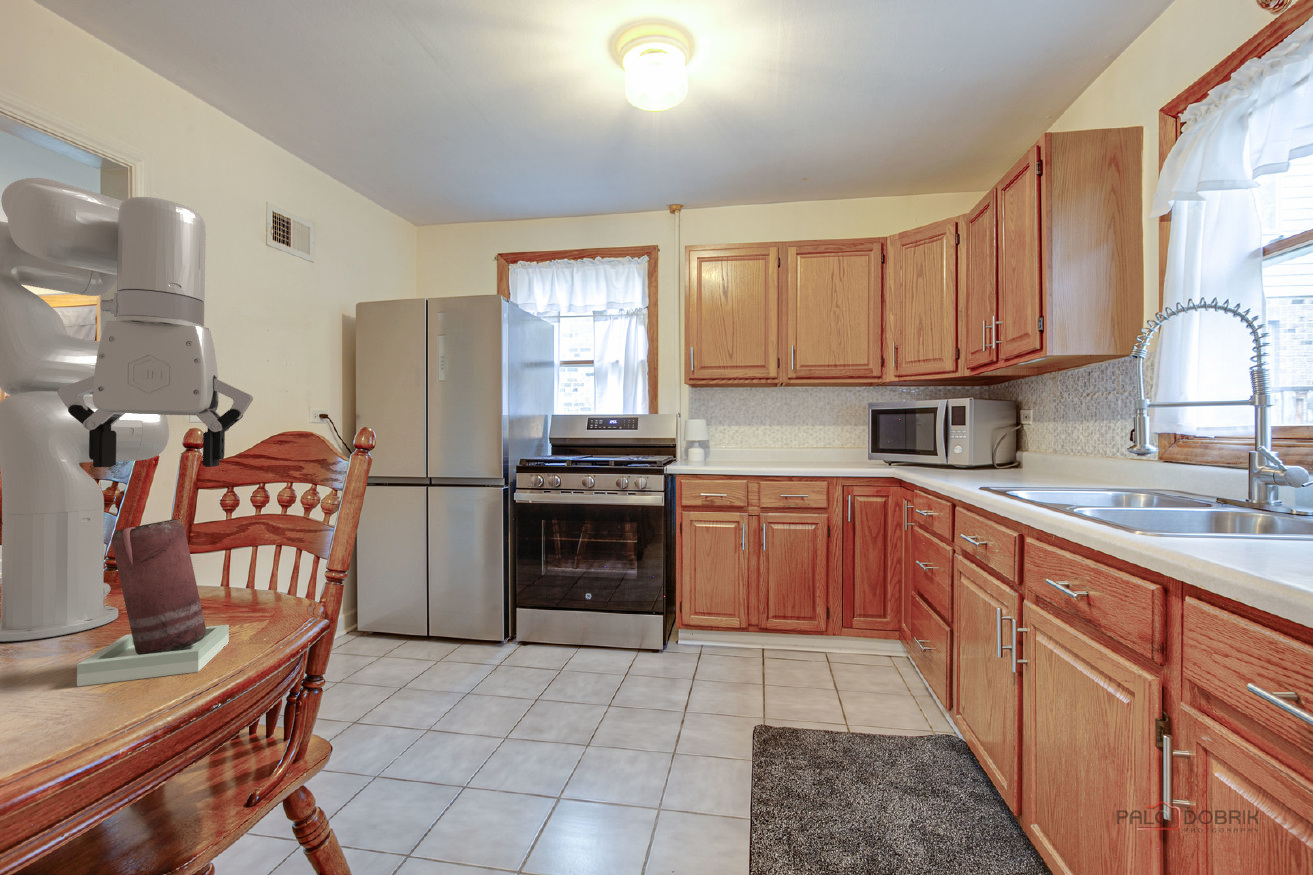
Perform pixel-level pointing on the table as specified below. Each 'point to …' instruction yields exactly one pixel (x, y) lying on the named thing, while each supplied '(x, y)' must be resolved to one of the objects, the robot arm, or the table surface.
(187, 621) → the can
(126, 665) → the plate
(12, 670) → the table surface
